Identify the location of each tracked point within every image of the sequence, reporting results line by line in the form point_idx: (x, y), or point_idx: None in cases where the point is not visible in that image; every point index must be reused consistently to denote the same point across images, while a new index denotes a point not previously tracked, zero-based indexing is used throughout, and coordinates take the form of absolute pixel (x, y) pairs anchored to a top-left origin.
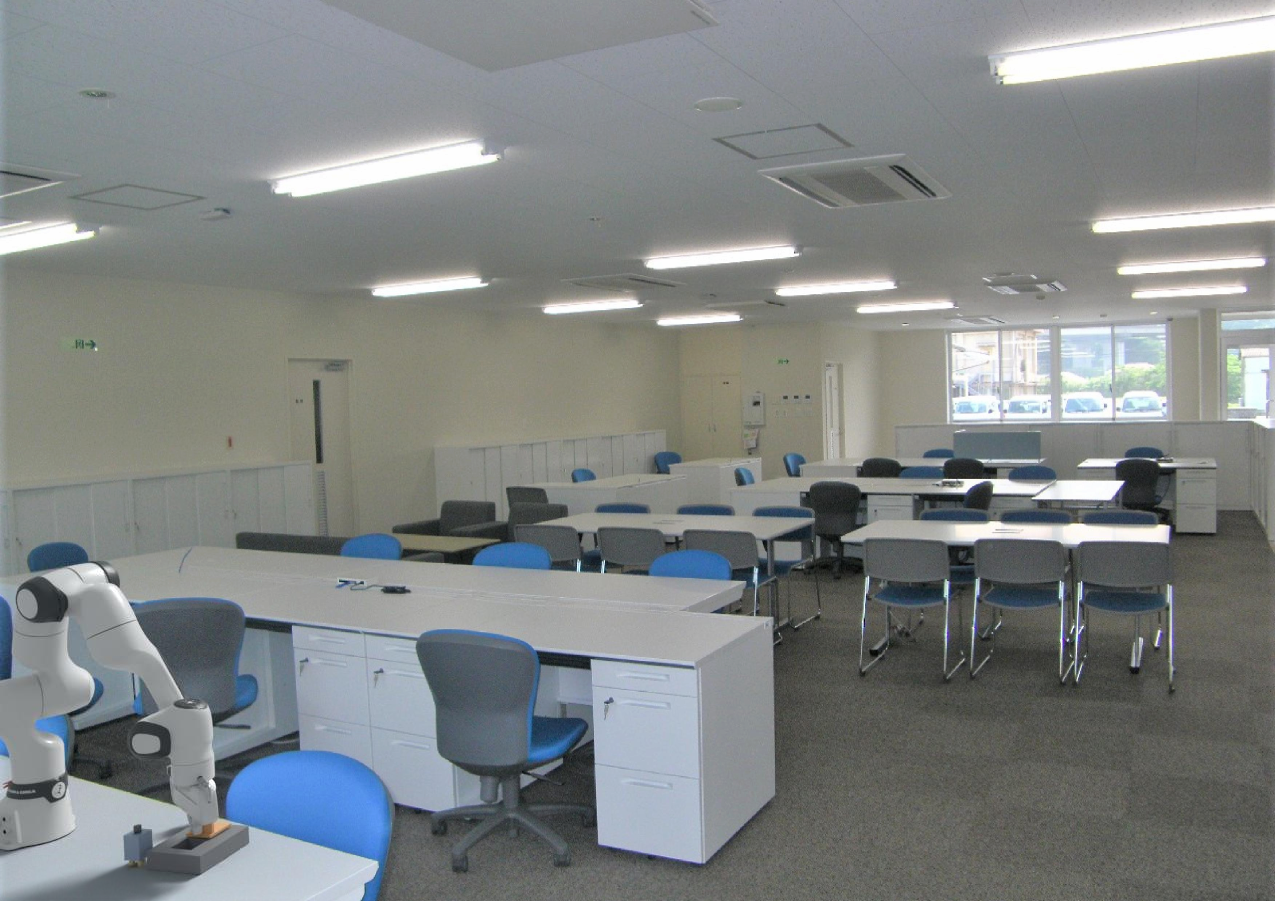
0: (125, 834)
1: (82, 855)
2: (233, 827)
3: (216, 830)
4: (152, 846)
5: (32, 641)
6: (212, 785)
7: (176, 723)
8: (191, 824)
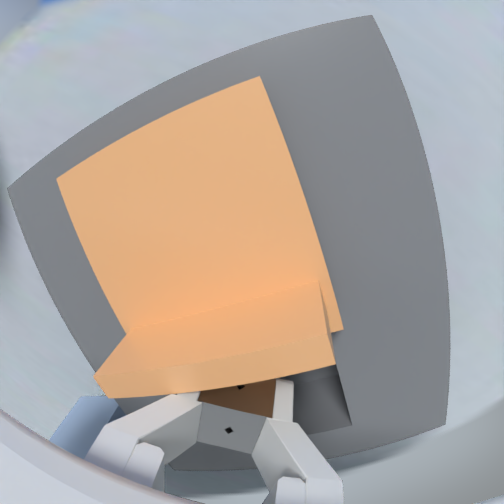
0: None
1: (8, 392)
2: (288, 80)
3: (293, 245)
4: (114, 415)
5: None
6: None
7: None
8: (196, 436)
